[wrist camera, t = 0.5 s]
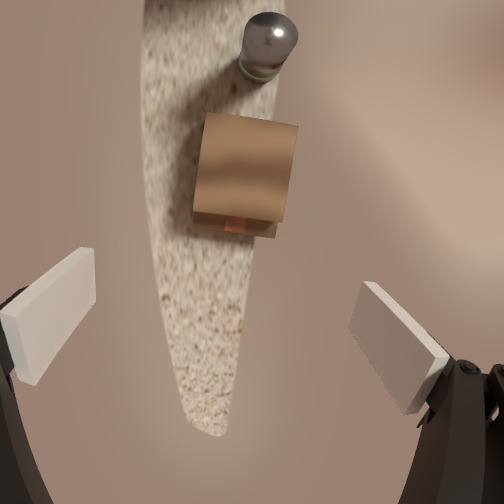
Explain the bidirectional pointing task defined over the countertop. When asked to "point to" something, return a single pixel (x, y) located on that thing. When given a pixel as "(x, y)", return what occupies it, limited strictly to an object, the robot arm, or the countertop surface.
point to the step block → (243, 174)
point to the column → (266, 46)
